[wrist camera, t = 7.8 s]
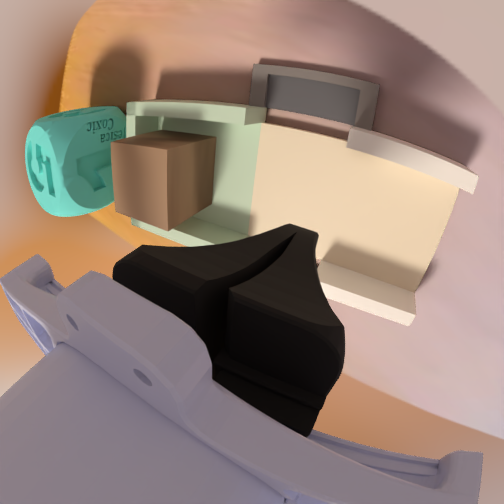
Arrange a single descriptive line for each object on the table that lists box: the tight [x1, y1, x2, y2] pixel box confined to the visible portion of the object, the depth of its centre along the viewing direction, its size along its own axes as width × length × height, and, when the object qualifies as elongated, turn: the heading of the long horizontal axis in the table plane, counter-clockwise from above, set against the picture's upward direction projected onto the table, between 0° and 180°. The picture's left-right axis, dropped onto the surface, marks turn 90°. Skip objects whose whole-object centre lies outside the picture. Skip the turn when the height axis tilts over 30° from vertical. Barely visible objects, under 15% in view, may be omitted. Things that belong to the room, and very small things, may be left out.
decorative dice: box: [25, 106, 126, 217], centre depth 20 cm, size 8×8×8 cm
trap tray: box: [126, 64, 479, 326], centre depth 17 cm, size 22×16×3 cm
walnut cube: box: [111, 130, 217, 231], centre depth 18 cm, size 5×5×5 cm
